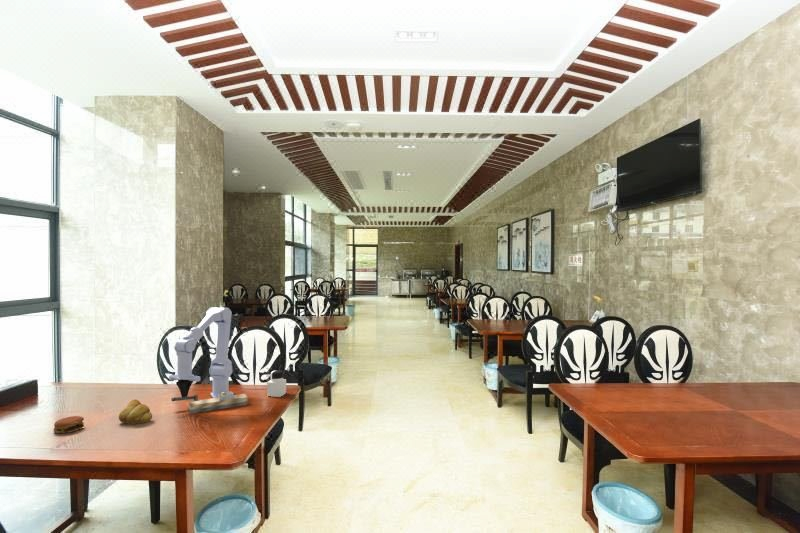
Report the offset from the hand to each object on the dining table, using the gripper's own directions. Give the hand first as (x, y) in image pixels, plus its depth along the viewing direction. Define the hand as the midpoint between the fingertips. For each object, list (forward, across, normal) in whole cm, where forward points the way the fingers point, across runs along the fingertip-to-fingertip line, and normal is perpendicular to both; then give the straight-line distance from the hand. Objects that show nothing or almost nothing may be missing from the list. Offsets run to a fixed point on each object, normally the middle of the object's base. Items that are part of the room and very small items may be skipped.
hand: (184, 396), depth 188 cm
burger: (+6, -27, -30) cm, 41 cm away
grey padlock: (+6, +28, +30) cm, 42 cm away
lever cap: (+2, +14, +9) cm, 17 cm away
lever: (+5, -1, +1) cm, 6 cm away
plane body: (+6, +12, +7) cm, 15 cm away
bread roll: (+6, -9, -17) cm, 20 cm away
